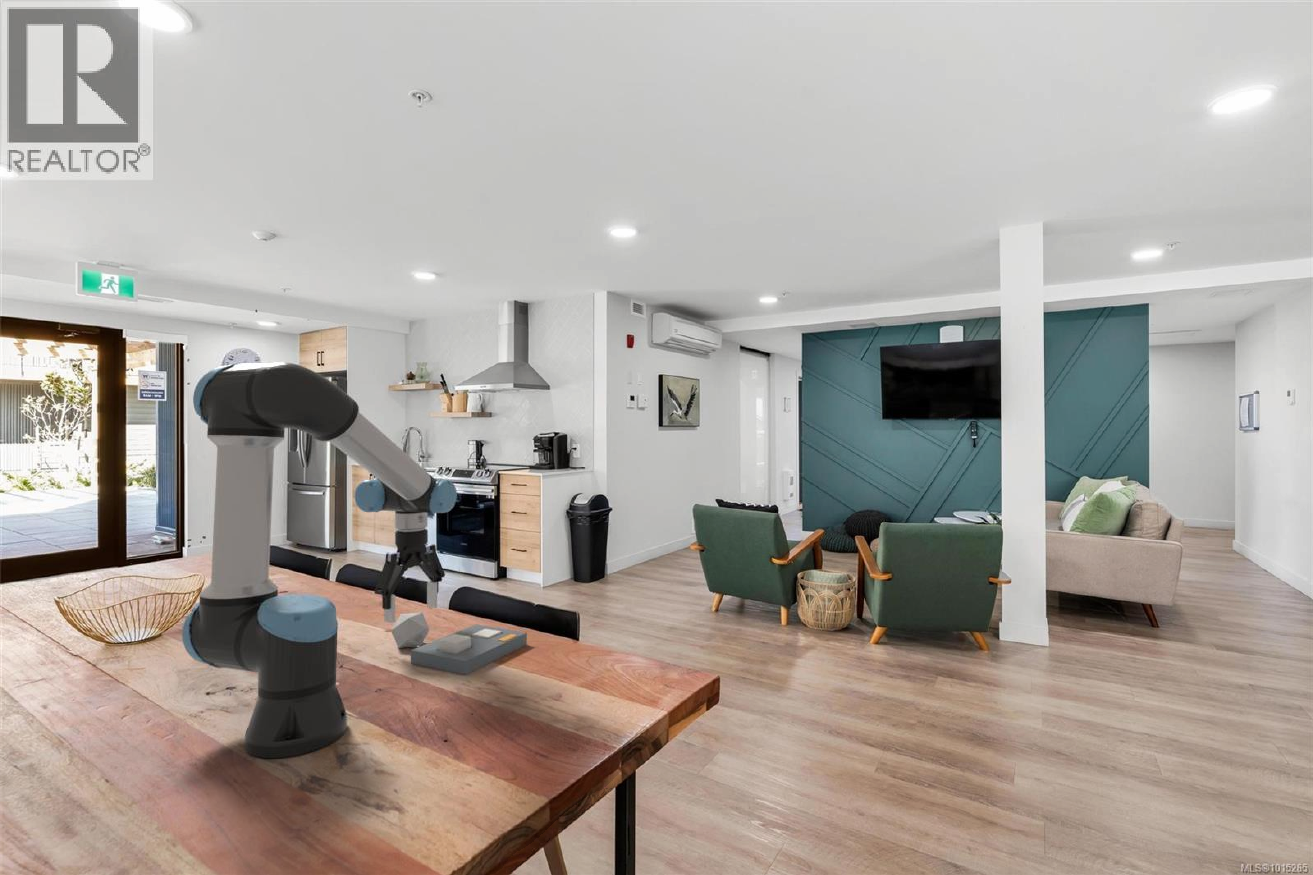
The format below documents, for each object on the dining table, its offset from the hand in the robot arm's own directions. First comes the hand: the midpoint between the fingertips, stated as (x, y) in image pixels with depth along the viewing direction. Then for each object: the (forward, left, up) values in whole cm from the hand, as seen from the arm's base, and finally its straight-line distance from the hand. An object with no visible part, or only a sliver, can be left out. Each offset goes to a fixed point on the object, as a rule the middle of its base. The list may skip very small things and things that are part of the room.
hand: (411, 614), depth 153 cm
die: (0, 0, -8) cm, 8 cm away
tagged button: (+7, -18, -7) cm, 20 cm away
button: (-4, -18, -6) cm, 19 cm away
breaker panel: (+2, -18, -8) cm, 19 cm away
